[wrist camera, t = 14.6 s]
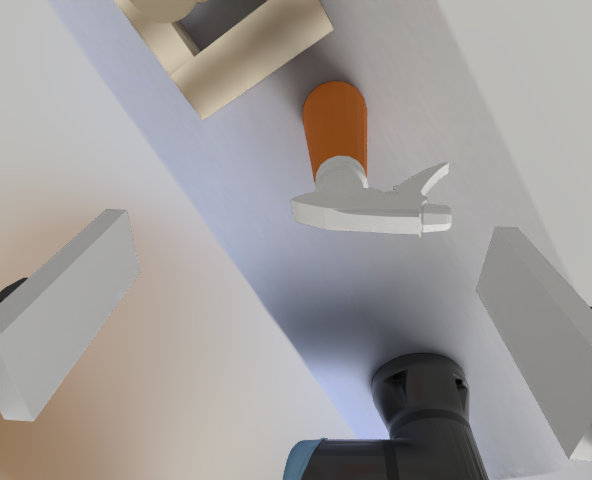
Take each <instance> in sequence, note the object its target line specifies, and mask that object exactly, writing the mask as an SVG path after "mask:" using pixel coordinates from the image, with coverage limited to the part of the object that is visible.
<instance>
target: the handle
mask: <svg viewBox="0 0 592 480" xmlns="http://www.w3.org/2000/svg"><path fill="white" fill-rule="evenodd" d="M207 1H210V0H130V2H131V3H132V4H133V5H134V6H135V7H136V8H137V9H138V10H140V11H141V12H142V13H143V14H145V15H146V16H147V17H149V18H150V19H151V20H153V21H154V22H155V23H161V24H162V23H172V22H175V21H178V20H180V19H182V18H184V17H185V16H186V15H188V14H189V13H190V12H191V11H192V10H193V8H194V7H195V5H196V3H203V2H207Z"/></svg>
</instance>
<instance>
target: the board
mask: <svg viewBox="0 0 592 480" xmlns="http://www.w3.org/2000/svg"><path fill="white" fill-rule="evenodd" d="M114 1H115V2H116V4H117V5H118V6H119V8H120V9H121V10H122V12H123V13H124V15H125V16H126V17H127V19H128V20H129V21H130V23H131V24H132V25H133V27H134V28H135V30H136V31H137V32H138V34H139V35H140V36H141V38H142V39H143V40H144V42H145V43H146V45H147V46H148V47H149V49H150V50H151V51H152V53H153V54H154V55H155V57H156V58H157V59H158V61H159V62H160V64H161V65H162V66H163V68H164V69H165V70H166V72H167V73H168V74H169V76H170V77H171V79H172V80H173V81H174V83H175V84H176V85H177V87H178V88H179V89H180V91H181V92H182V94H183V95H184V96H185V98H186V99H187V100H188V102H189V103H190V104H191V106H192V107H193V108H194V110H195V111H196V113H197V114H198V115H199V117H200V118H201V119H202V121H203V120H205V119H206V118H208V117H209V116H210V115H212V114H213V113H215V112H216V111H218V110H219V109H220V108H222V107H223V106H225V105H226V104H228V103H229V102H231V101H232V100H233V99H235V98H236V97H238V96H239V95H241V94H242V93H244V92H245V91H246V90H248V89H249V88H251V87H252V86H254V85H255V84H256V83H258V82H259V81H261V80H262V79H264V78H265V77H267V76H268V75H269V74H271V73H272V72H274V71H275V70H277V69H278V68H280V67H281V66H282V65H284V64H285V63H287V62H288V61H290V60H291V59H292V58H294V57H295V56H297V55H298V54H300V53H301V52H303V51H304V50H305V49H307V48H308V47H310V46H311V45H313V44H314V43H316V42H317V41H318V40H320V39H321V38H323V37H324V36H326V35H327V34H328V33H330V32H331V31H333V30H334V28H333V26H332V24H331V22H330V20H329V18H328V16H327V14H326V13H325V11H324V9H323V7H322V5H321V3H320V1H319V0H268V1H266V2H265V3H264V4H262V5H261V6H260V7H259V8H257V9H256V10H255V11H253V12H252V13H251V14H249V15H248V16H247V17H246V18H244V19H243V20H242V21H240V22H239V23H238V24H236V25H235V26H234V27H233V28H231V29H230V30H229V31H227V32H226V33H225V34H223V35H222V36H221V37H220V38H218V39H217V40H216V41H214V42H213V43H212V44H210V45H209V46H208V47H207V48H205V49H204V50H203V51H200V50H199V48H198V47H197V45H196V44H195V42H194V41H193V40H192V38H191V37H190V35H189V34H188V32H187V31H186V29H185V28H184V26H183V25H182V23H181V22H180V20H178V21H175V22H172V23H162V24H161V23H155V22H154V21H153V20H151V19H150V18H149V17H147V16H146V15H145V14H143V13H142V12H141V11H140V10H138V9H137V8H136V7H135V6H134V5H133V4H132V3H131V2H130V0H114Z"/></svg>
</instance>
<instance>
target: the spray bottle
mask: <svg viewBox="0 0 592 480" xmlns="http://www.w3.org/2000/svg"><path fill="white" fill-rule="evenodd" d="M303 124H304V129H305V134H306V140H307V145H308V150H309V155H310V161H311V166H312V171H313V176H314V182H315V192H312V193H307V194H304V195H300V196H297V197H294V198H293V199H291V200H290V201H291V207H292V213H293V219H294V221H296V222H299V223H302V224H305V225H309V226H313V227H318V228H322V229H326V230H335V231H368V232H379V233H397V234H419V238H421V230H422V231H423V232H433V231H443V230H447V229H449V228H450V227H451V224H452V211H451V208H449V207H447V206H444V205H435V204H427V197H426V196H425V194H426V193H427V192H428V190H429V189H430V188H431V187H432V186H433V185H434V184H435V183H436V182H437V181H438V180H439V179H441V178H442V177H443V176H444V175H446V174H448V170H449V163H447V162H445V163H442V164H439V165H436V166H433V167H431V168H428V169H426V170H424V171H422V172H420V173H418V174H416V175H414V176H412V177H411V178H409V179H408V180H406V181H405V182H403V183H402V184H400V185H397V186H393V190H392V191H389V192H385V193H384V192H382V191H381V190H378V189H374V188H369V186H368V182H367V108H366V104H365V100H364V98H363V96H362V95H361V94H360V92H359V91H358V90H357V89H356V88H355V87H353V86H352V85H350V84H348V83H346V82H341V81H330V82H327V83H324V84H321V85H319V86H318V87H317V88H315V89H314V90H313V91H312V92H311V93H310V94H309V95H308V98H307V100H306V102H305V104H304V106H303Z"/></svg>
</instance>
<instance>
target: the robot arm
mask: <svg viewBox="0 0 592 480" xmlns="http://www.w3.org/2000/svg"><path fill="white" fill-rule="evenodd" d="M139 274H140V268H139V263H138V259H137V254H136V250H135V245H134V240H133V236H132V231H131V226H130V222H129V217H128V212H127V210H114V209H106V210H105V211H104V212H103V213H102V214H101V215H99V216H98V217H97V218H96V219H95V220H94V221H92V222H91V223H90V224H89V225H88V226H87V227H86V228H85V229H84V230H82V231H81V232H80V233H79V234H78V235H77V236H76V237H74V239H72V240H71V241H70V242H69V243H68V244H67V245H65V246H64V247H63V248H62V249H61V250H60V251H59V252H57V254H56V255H54V256H53V257H52V258H51V259H50V260H48V261H47V262H46V263H45V264H44V265H43V266H42V267H41V268H40V269H38V270H37V271H36V272H35V273H34V274H33V275H32V276H30V277H29V278H23V279H21V280H19V281H17V282H15V283H13V284H11V285H9V286H7V287H6V288H4V289H3V290H2V291H1V292H0V412H1V414H2V416H3V418H4V419H7V420H22V421H34V420H35V419H36V417H37V416H38V415H39V413H40V412H41V410H42V409H43V407H44V406H45V405H46V403H47V402H48V401H49V399H50V398H51V396H52V395H53V394H54V392H55V391H56V390H57V388H58V387H59V385H60V384H61V383H62V381H63V380H64V378H65V377H66V376H67V374H68V373H69V371H70V370H71V369H72V367H73V366H74V364H75V363H76V361H77V360H78V359H79V358H80V356H81V355H82V353H83V352H84V351H85V349H86V348H87V346H88V345H89V344H90V342H91V341H92V339H93V338H94V336H95V335H96V334H97V332H98V331H99V330H100V328H101V327H102V326H103V324H104V323H105V321H106V320H107V318H108V317H109V316H110V314H111V313H112V312H113V310H114V309H115V307H116V306H117V305H118V303H119V302H120V300H121V299H122V298H123V296H124V295H125V293H126V292H127V291H128V289H129V288H130V287H131V285H132V284H133V282H134V281H135V280H136V278H137V277H138V275H139ZM476 292H477V294H478V295H479V297H480V299H481V301H482V303H483V304H484V306H485V308H486V310H487V312H488V314H489V315H490V317H491V319H492V321H493V323H494V324H495V326H496V328H497V330H498V332H499V334H500V335H501V337H502V339H503V341H504V343H505V344H506V346H507V348H508V350H509V352H510V354H511V355H512V357H513V359H514V361H515V363H516V364H517V366H518V368H519V370H520V372H521V374H522V375H523V377H524V379H525V381H526V383H527V384H528V386H529V388H530V390H531V392H532V394H533V395H534V397H535V399H536V401H537V403H538V405H539V406H540V408H541V410H542V412H543V414H544V415H545V417H546V419H547V421H548V423H549V425H550V426H551V428H552V430H553V432H554V434H555V435H556V437H557V439H558V441H559V443H560V445H561V446H562V448H563V450H564V452H565V454H566V455H567V457H568V459H570V460H584V461H592V307H589V306H588V305H587V304H586V302H585V301H584V300H583V299H582V298H581V297H580V296H579V295H578V293H577V292H576V291H575V290H574V289H573V288H572V287H571V286H570V285H569V284H568V282H567V281H566V280H565V279H564V278H563V277H562V276H561V275H560V274H559V273H558V271H557V270H556V269H555V268H554V267H553V266H552V265H551V264H550V263H549V262H548V260H547V259H546V258H545V257H544V256H543V255H542V254H541V253H540V252H539V251H538V250H537V248H536V247H535V246H534V245H533V244H532V243H531V242H530V241H529V240H528V239H527V237H526V236H525V235H524V234H523V233H522V232H521V231H520V230H519V229H518V228H517V227H495V228H494V231H493V235H492V238H491V241H490V245H489V248H488V251H487V254H486V258H485V261H484V264H483V268H482V271H481V274H480V277H479V281H478V284H477V287H476ZM372 395H373V401H374V404H375V407H376V409H377V411H378V412H379V414H380V416H381V418H382V420H383V422H384V424H385V426H386V428H387V430H388V432H389V436H390V440H381V439H354V440H353V439H351V440H328V439H327V438H321V439H319V440H303V441H300V442H298V443H297V444H296V445H295V446H294V447H293V448H292V450H291V451H290V454H289V456H288V459H287V462H286V466H285V470H284V475H283V480H489V479H488V476H487V473H486V470H485V468H484V465H483V462H482V459H481V456H480V453H479V451H478V448H477V445H476V442H475V439H474V436H473V434H472V431H471V428H470V425H469V387H468V384H467V381H466V378H465V376H464V373H463V371H462V370H461V368H460V367H459V366H458V365H457V364H456V363H454V362H453V361H451V360H449V359H447V358H445V357H442V356H438V355H433V354H411V355H406V356H402V357H399V358H396V359H394V360H392V361H390V362H388V363H387V364H385V365H384V366H383V367H381V368H380V369H379V370H378V372H377V373H376V374H375V376H374V378H373V381H372Z"/></svg>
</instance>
